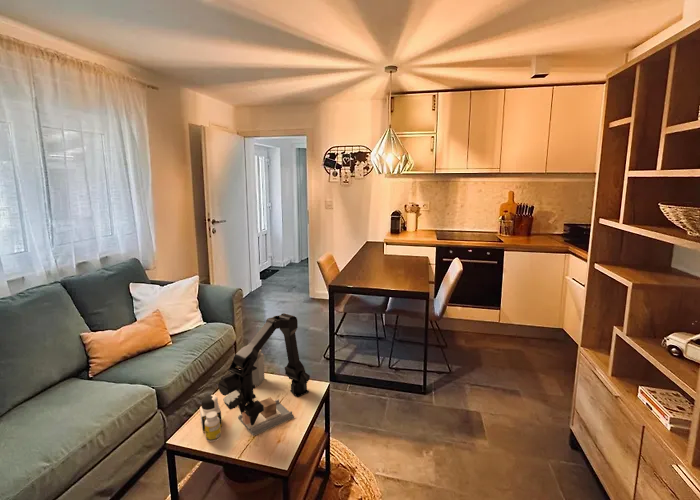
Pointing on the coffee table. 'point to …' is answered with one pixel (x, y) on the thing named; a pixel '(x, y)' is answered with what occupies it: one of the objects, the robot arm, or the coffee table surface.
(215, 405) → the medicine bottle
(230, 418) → the coffee table surface
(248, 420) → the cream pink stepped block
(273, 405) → the walnut block
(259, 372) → the perfume bottle
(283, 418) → the lane board
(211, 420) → the supplement bottle
